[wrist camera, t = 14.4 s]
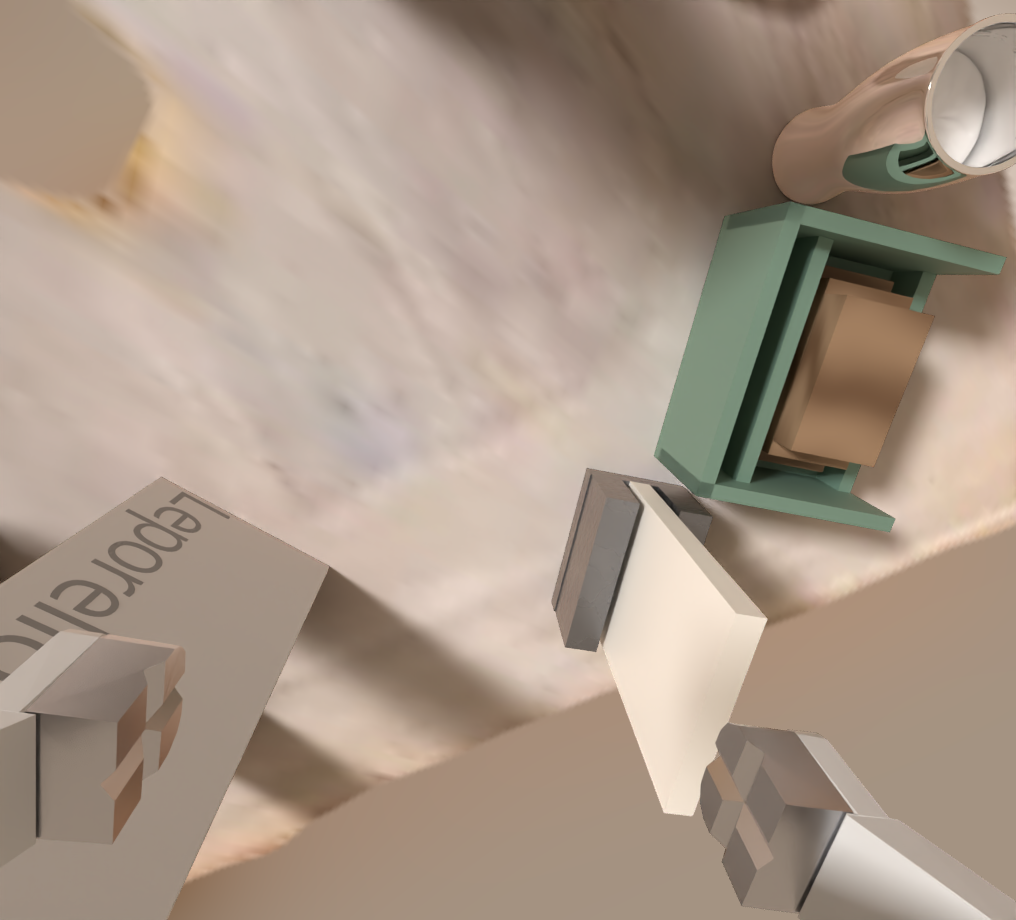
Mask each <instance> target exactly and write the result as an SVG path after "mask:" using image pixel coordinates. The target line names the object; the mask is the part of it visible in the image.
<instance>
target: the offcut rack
mask: <svg viewBox="0 0 1016 920" xmlns="http://www.w3.org/2000/svg"><path fill="white" fill-rule="evenodd" d="M1006 258H1007V257H1003V256H999V255H995V254H991V253H988V252H984V251H980V250H976V249H972V248H968V247H964V246H961V245H957V244H953V243H949V242H945V241H941V240H937V239H933V238H930V237H926V236H922V235H918V234H914V233H910V232H906V231H903V230H899V229H895V228H891V227H887V226H883V225H879V224H876V223H872V222H868V221H864V220H860V219H856V218H852V217H849V216H845V215H841V214H837V213H833V212H829V211H825V210H821V209H818V208H814V207H810V206H806V205H802V204H798V203H794V202H791V201H790V202H786V203H781V204H777V205H772V206H768V207H764V208H759V209H755V210H750V211H746V212H741V213H737V214H732V215H728V216H725V217H724V220H723V224H722V227H721V230H720V234H719V237H718V240H717V244H716V247H715V251H714V254H713V257H712V261H711V264H710V268H709V271H708V274H707V278H706V281H705V285H704V288H703V291H702V295H701V298H700V301H699V305H698V308H697V312H696V315H695V318H694V322H693V325H692V329H691V332H690V335H689V339H688V342H687V345H686V349H685V352H684V356H683V359H682V362H681V366H680V369H679V373H678V376H677V379H676V383H675V386H674V389H673V393H672V396H671V400H670V403H669V406H668V410H667V413H666V417H665V420H664V423H663V427H662V430H661V434H660V437H659V440H658V444H657V447H656V450H655V454H654V456H655V457H656V458H657V459H658V460H659V461H660V462H661V463H662V464H663V465H664V466H665V467H666V468H667V469H668V470H669V471H670V472H671V473H672V474H673V475H674V476H675V477H676V478H678V479H679V480H680V481H681V482H682V483H683V484H684V485H685V486H686V487H687V488H688V489H689V490H690V491H691V492H692V493H693V494H694V495H695V496H699V497H704V498H710V499H715V500H720V501H726V502H731V503H736V504H742V505H747V506H752V507H758V508H763V509H768V510H774V511H779V512H784V513H790V514H795V515H800V516H806V517H811V518H816V519H822V520H827V521H833V522H838V523H843V524H849V525H854V526H859V527H865V528H870V529H875V530H881V531H886V532H890V530H891V528H892V526H893V523H894V521H895V518H893V517H892V516H890V515H888V514H886V513H885V512H883V511H881V510H879V509H877V508H876V507H874V506H872V505H870V504H869V503H867V502H865V501H863V500H862V499H860V498H858V497H856V496H855V495H853V494H851V493H850V492H851V489H852V487H853V484H854V482H855V479H856V477H857V474H858V471H859V469H860V466H861V464H856V463H852V462H849V465H848V467H847V470H845V469H840V468H835V467H830V466H825V467H824V469H823V472H818V471H812V470H807V469H802V468H797V467H792V466H787V465H782V464H777V463H772V462H767V461H762V460H758V458H759V455H760V452H761V449H762V446H763V443H764V441H765V438H766V435H767V432H768V429H769V426H770V423H771V420H772V417H773V415H774V412H775V409H776V406H777V403H778V400H779V397H780V394H781V392H782V389H783V386H784V383H785V380H786V377H787V374H788V371H789V368H790V366H791V363H792V360H793V357H794V354H795V351H796V348H797V345H798V342H799V340H800V337H801V334H802V331H803V328H804V325H805V322H806V319H807V316H808V314H809V311H810V308H811V305H812V302H813V299H814V296H815V293H816V290H817V288H818V285H819V282H820V279H821V276H822V273H823V270H824V267H825V265H827V266H831V267H835V268H839V269H843V270H847V271H851V272H855V273H860V274H864V275H868V276H872V277H876V278H880V279H884V280H888V281H892V282H894V285H893V288H892V290H891V293H894V294H899V295H903V296H907V297H911V298H914V299H913V301H912V304H911V306H910V309H909V310H912V311H916V312H920V313H922V310H923V308H924V305H925V303H926V300H927V298H928V295H929V293H930V290H931V288H932V285H933V283H934V280H935V278H936V275H999V274H1000V272H1001V269H1002V267H1003V265H1004V262H1005V260H1006Z"/></svg>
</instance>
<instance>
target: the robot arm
mask: <svg viewBox="0 0 1016 920" xmlns="http://www.w3.org/2000/svg"><path fill="white" fill-rule="evenodd" d="M185 657H186V652H185V650H184V649H183V647H182V646H179V645H172V644H166V643H160V642H154V641H148V640H141V639H135V638H129V637H123V636H117V635H111V634H108V635H106V634H103V633H96V632H89V631H82V630H76V629H68V630H64V631H60V632H59V633H57V634H56V635H55V636H54V637H53V638H52V639H50V640H49V641H48V642H47V643H46V644H45V645H44V646H42V647H41V648H40V649H39V650H38V651H37V652H36V653H34V654H33V655H32V656H31V657H30V658H29V659H28V660H26V661H25V662H24V663H23V664H22V665H21V666H20V667H18V668H17V669H16V670H15V671H14V672H13V673H11V674H10V675H9V676H8V677H7V678H6V679H5V680H3V681H2V682H1V683H0V868H1V867H3V866H4V865H6V864H7V863H9V862H10V861H11V860H13V859H14V858H16V857H17V856H19V855H20V854H22V853H23V852H24V851H26V850H27V849H29V848H30V847H32V846H33V845H34V844H36V839H42V840H57V841H71V842H86V843H100V844H113V843H114V841H115V839H116V838H117V836H118V835H119V833H120V831H121V830H122V828H123V827H124V825H125V824H126V822H127V820H128V819H129V817H130V816H131V814H132V812H133V811H134V809H135V808H136V806H137V804H138V803H139V801H140V800H141V792H142V780H143V779H145V778H147V777H149V776H150V775H152V774H154V773H155V772H157V771H158V770H159V769H160V767H161V765H162V764H163V762H164V760H165V759H166V757H167V755H168V754H169V751H170V749H171V746H172V744H173V741H174V739H175V736H176V734H177V731H178V727H179V722H180V718H181V713H182V702H183V698H182V697H181V695H180V694H179V693H178V691H177V690H176V688H175V686H176V684H177V683H178V681H179V680H180V678H181V677H182V676H183V674H184V673H185ZM715 744H716V747H717V749H718V752H719V755H720V756H719V757H718V758H717V759H715V760H714V761H713V762H711V763H710V764H709V765H707V766H706V769H705V772H704V775H703V778H702V781H701V786H700V805H701V809H702V814H703V819H704V821H705V823H706V826H707V828H708V831H709V833H710V834H711V835H712V836H713V837H714V838H715V839H716V840H717V841H718V842H720V844H721V845H722V846H723V847H724V848H725V852H724V856H723V859H722V863H723V865H724V867H725V870H726V872H727V874H728V876H729V879H730V881H731V883H732V885H733V888H734V890H735V892H736V894H737V897H738V899H739V901H740V903H741V906H743V907H751V908H759V909H767V910H774V911H781V912H790V913H797V914H799V915H798V918H799V919H800V920H1016V901H1014V900H1013V899H1012V898H1010V897H1009V896H1007V895H1006V894H1004V893H1003V892H1002V891H1000V890H999V889H997V888H996V887H994V886H993V885H991V884H990V883H989V882H987V881H986V880H984V879H983V878H982V877H980V876H979V875H977V874H976V873H974V872H973V871H971V870H970V869H969V868H967V867H966V866H964V865H963V864H961V863H960V862H958V861H957V860H956V859H954V858H953V857H951V856H950V855H949V854H947V853H946V852H944V851H943V850H941V849H940V848H939V847H937V846H936V845H934V844H933V843H931V842H930V841H928V840H927V839H926V838H924V837H923V836H921V835H920V834H918V833H917V832H916V831H914V830H913V829H911V828H910V827H908V826H907V825H906V824H904V823H903V822H901V821H900V820H896V819H889V818H888V816H887V815H886V814H885V812H884V811H883V810H882V809H881V807H880V806H879V805H878V803H877V802H876V801H875V800H874V798H873V797H872V796H871V794H870V793H869V792H868V791H867V790H866V788H865V787H864V786H863V784H862V783H861V782H860V781H859V779H858V778H857V777H856V775H855V774H854V773H853V772H852V770H851V769H850V768H849V767H848V765H847V764H846V763H845V761H844V760H843V759H842V758H841V756H840V755H839V754H838V753H837V751H836V750H835V749H834V748H833V746H832V745H831V744H830V742H829V741H828V740H827V739H826V738H824V737H823V736H821V735H820V734H818V733H814V732H805V731H796V730H786V731H785V730H778V729H771V728H762V727H756V726H748V725H740V724H733V723H727V724H726V725H725V726H724V727H723V728H722V729H721V730H720V732H719V735H718V737H717V740H716V742H715Z"/></svg>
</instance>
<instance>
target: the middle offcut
mask: <svg viewBox="0 0 1016 920" xmlns="http://www.w3.org/2000/svg"><path fill="white" fill-rule="evenodd" d="M824 294H840V295H850V296H854V297H858V298H862V299H866V300H871V301H875V302H879V303H883V304H887V305H891V306H895V307H900V308H904V309H908V310H909V309H910V306H911V304H912V301H913V299H914V298H911V297H907V296H903V295H899V294H894V293H890V292H886V291H882V290H878V289H874V288H870V287H866V286H862V285H858V284H853V283H849V282H845V281H841V280H837V279H833V278H821V279H820V282H819V285H818V288H817V290H816V293H815V296H814V299H813V302H812V305H811V308H810V311H809V314H808V316H807V319H806V322H805V325H804V328H803V331H802V334H801V337H800V340H799V342H798V345H797V348H796V351H795V354H794V357H793V360H792V363H791V366H790V368H789V371H788V374H787V377H786V380H785V383H784V386H783V389H782V392H781V394H780V397H779V400H778V403H777V406H776V409H775V412H774V415H773V417H772V420H771V423H770V426H769V429H768V432H767V435H766V438H765V441H764V443H763V446H762V449H761V450H762V451H764V452H765V453H767V454H770V455H775V456H780V457H785V458H790V459H795V460H800V461H805V462H810V463H815V464H820V465H825V466H830V467H835V468H840V469H845V470H847V467H848V465H849V462H847V461H842V460H837V459H832V458H827V457H822V456H817V455H812V454H807V453H802V452H797V451H792V450H790V449H788V448H786V447H784V446H782V445H780V444H779V443H777V442H775V441H773V440H774V437H775V434H776V431H777V428H778V426H779V423H780V420H781V417H782V414H783V411H784V408H785V406H786V403H787V400H788V397H789V394H790V391H791V388H792V386H793V383H794V380H795V377H796V374H797V371H798V368H799V366H800V363H801V360H802V357H803V354H804V351H805V348H806V346H807V343H808V340H809V337H810V334H811V331H812V328H813V326H814V323H815V320H816V317H817V314H818V311H819V309H820V306H821V303H822V300H823V297H824Z"/></svg>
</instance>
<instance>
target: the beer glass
mask: <svg viewBox="0 0 1016 920" xmlns="http://www.w3.org/2000/svg"><path fill="white" fill-rule="evenodd" d="M1014 164H1016V14H1014V13H1006V14H999V15H994V16H991V17H988V18H985V19H983V20H981V21H979V22H977V23H975V24H973V25H970V26H967V27H965V28H962V29H959V30H956V31H954V32H951V33H949V34H946V35H943V36H941V37H938V38H936V39H934V40H931V41H929V42H927V43H925V44H923V45H920V46H918V47H916V48H914V49H912V50H910V51H908V52H906V53H905V54H903V55H901V56H899V57H898V58H896V59H894V60H892V61H890V62H889V63H887V64H886V65H885V66H883V67H882V68H880V69H879V70H878V71H876V72H875V73H873V74H872V75H871V76H869V77H868V78H867V79H865V80H864V81H863V82H862V83H861V84H859V85H858V86H857V87H856V88H855V89H853V90H852V91H851V92H850V93H849V94H847V95H846V96H845V97H844V98H843V99H841V100H840V101H839V102H838V103H836V104H834V105H829V106H820V107H815V108H811V109H809V110H806V111H804V112H802V113H800V114H799V115H797V116H796V117H794V118H793V119H792V120H791V121H790V122H789V123H788V124H787V125H786V126H785V128H784V129H783V130H782V132H781V133H780V135H779V137H778V139H777V141H776V144H775V147H774V151H773V156H772V170H773V175H774V179H775V181H776V184H777V185H778V187H779V189H780V190H781V191H782V193H783V194H784V195H785V196H787V197H788V198H789V199H791V200H793V201H795V202H797V203H801V204H818V203H822V202H825V201H827V200H830V199H832V198H834V197H835V196H837V195H839V194H841V193H843V192H845V191H857V192H867V193H880V194H904V193H912V192H919V191H926V190H931V189H935V188H940V187H944V186H948V185H952V184H956V183H959V182H963V181H966V180H969V179H973V178H976V177H979V176H982V175H987V174H992V173H996V172H999V171H1002V170H1004V169H1007V168H1009V167H1011V166H1012V165H1014Z"/></svg>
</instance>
